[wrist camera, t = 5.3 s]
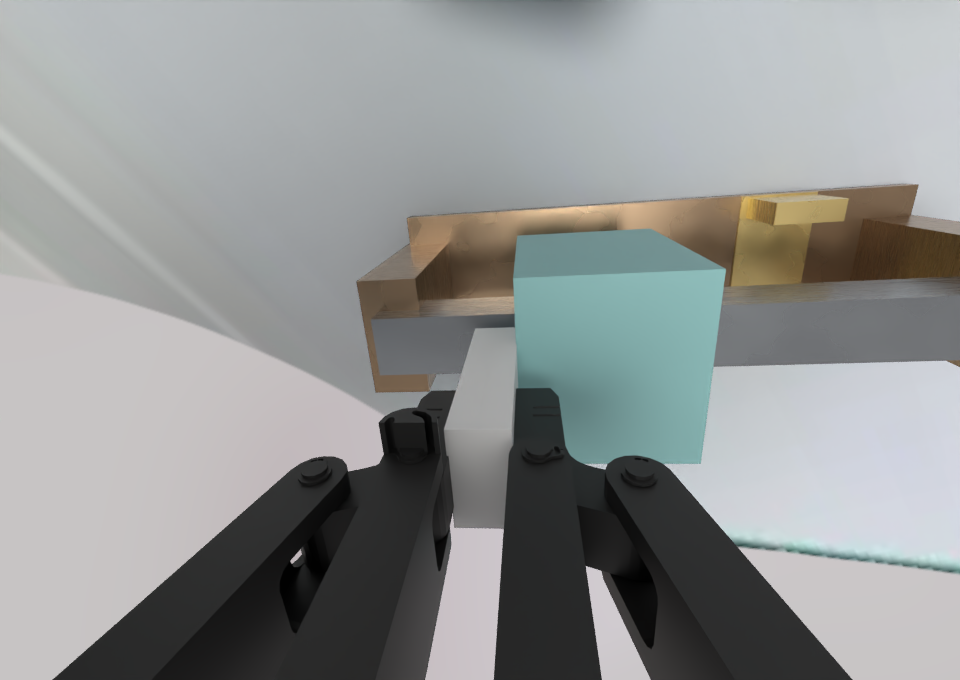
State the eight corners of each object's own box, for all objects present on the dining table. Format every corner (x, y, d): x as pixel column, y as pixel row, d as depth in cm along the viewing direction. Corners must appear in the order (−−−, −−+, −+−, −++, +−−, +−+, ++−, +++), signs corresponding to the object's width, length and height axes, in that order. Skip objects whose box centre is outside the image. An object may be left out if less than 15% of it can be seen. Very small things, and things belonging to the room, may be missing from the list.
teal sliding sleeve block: (522, 364, 24) (520, 463, 16) (517, 235, 21) (513, 277, 13) (641, 362, 23) (700, 463, 15) (650, 228, 21) (726, 269, 13)
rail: (423, 345, 29) (374, 434, 20) (406, 216, 26) (340, 248, 17) (873, 330, 26) (1070, 426, 17) (910, 183, 23) (1175, 198, 14)
